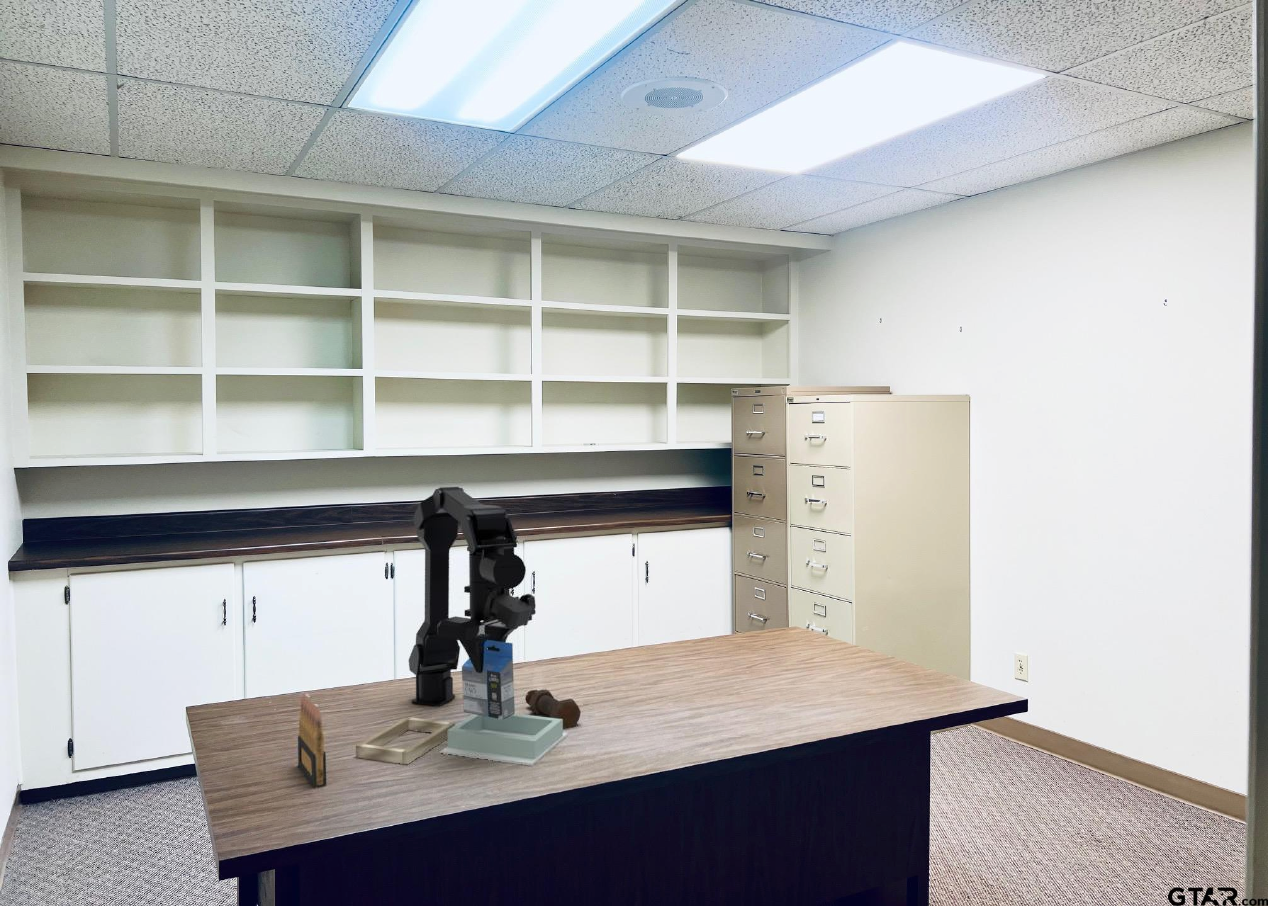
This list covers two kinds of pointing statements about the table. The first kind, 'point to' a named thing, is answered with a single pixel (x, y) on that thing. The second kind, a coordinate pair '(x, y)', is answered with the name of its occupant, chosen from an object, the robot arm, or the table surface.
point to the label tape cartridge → (490, 683)
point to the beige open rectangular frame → (374, 744)
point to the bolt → (554, 707)
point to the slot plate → (505, 738)
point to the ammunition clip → (311, 744)
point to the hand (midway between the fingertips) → (487, 669)
